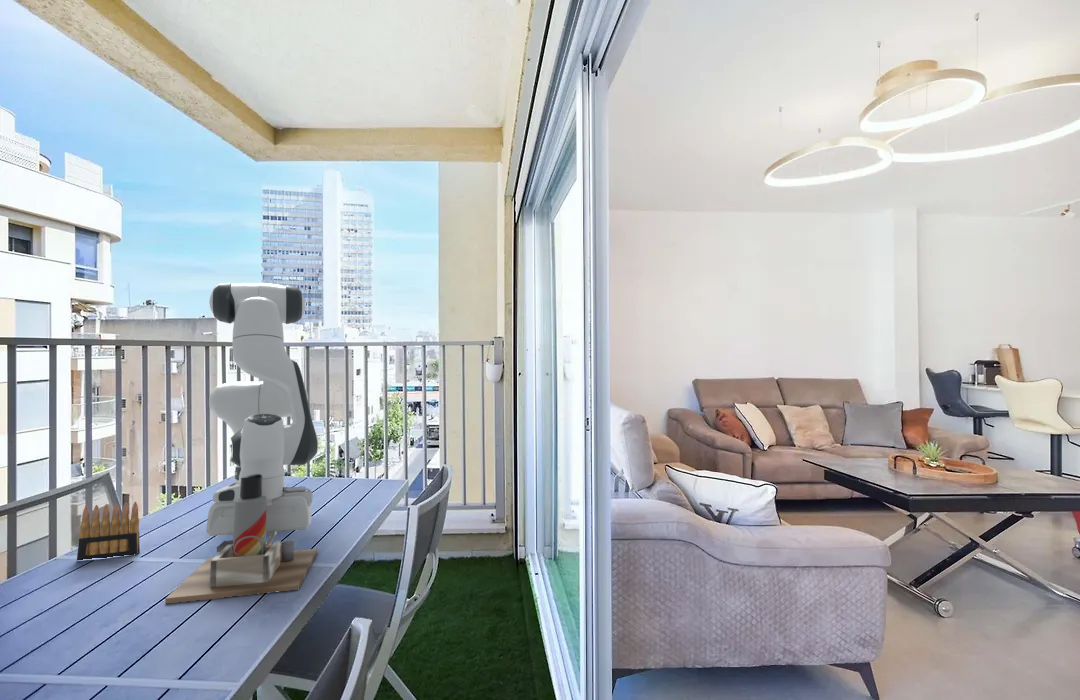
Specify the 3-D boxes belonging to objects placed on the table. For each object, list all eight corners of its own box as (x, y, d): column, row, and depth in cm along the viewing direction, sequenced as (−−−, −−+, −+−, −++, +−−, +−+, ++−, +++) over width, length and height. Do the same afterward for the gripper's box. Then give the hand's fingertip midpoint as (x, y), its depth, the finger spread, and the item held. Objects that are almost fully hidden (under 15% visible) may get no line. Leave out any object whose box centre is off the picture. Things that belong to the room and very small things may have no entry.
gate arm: (294, 556, 107) (295, 540, 108) (292, 560, 105) (292, 544, 105) (230, 561, 104) (230, 545, 105) (225, 565, 102) (226, 549, 102)
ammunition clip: (139, 552, 113) (141, 500, 114) (136, 555, 111) (138, 502, 112) (80, 559, 109) (82, 505, 109) (76, 562, 107) (78, 507, 108)
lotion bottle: (250, 580, 96) (253, 477, 97) (225, 578, 97) (228, 476, 97) (271, 569, 101) (273, 472, 102) (246, 567, 102) (249, 471, 103)
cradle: (209, 562, 107) (210, 534, 108) (317, 552, 113) (317, 526, 113) (165, 604, 88) (166, 570, 88) (298, 590, 94) (299, 558, 94)
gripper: (315, 482, 114) (314, 542, 113) (216, 487, 108) (214, 550, 108) (310, 489, 108) (308, 552, 107) (204, 494, 102) (202, 561, 102)
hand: (260, 551), depth 107 cm, fingers closed
